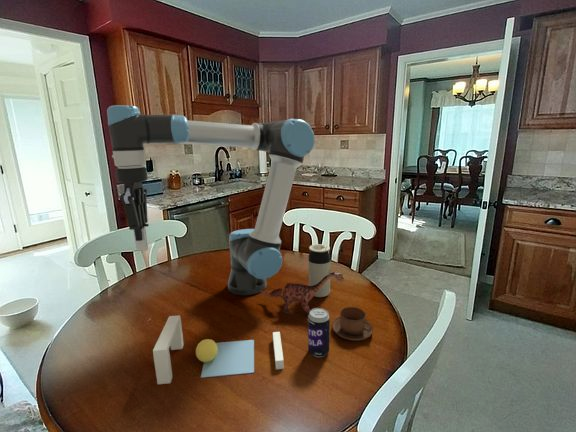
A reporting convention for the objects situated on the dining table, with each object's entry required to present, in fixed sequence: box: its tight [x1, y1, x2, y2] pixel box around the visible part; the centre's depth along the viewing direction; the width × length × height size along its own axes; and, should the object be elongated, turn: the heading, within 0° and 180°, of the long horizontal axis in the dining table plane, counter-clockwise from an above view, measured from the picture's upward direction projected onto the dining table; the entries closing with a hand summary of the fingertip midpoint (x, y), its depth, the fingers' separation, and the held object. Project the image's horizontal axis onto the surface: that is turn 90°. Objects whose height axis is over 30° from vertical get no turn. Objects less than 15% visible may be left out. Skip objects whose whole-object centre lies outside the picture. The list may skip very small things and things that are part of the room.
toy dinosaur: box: [260, 272, 345, 317], centre depth 104 cm, size 8×30×15 cm, turn 75°
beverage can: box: [307, 307, 331, 358], centre depth 83 cm, size 6×6×12 cm
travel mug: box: [308, 243, 331, 298], centre depth 115 cm, size 8×8×18 cm
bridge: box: [152, 315, 185, 385], centre depth 81 cm, size 3×15×9 cm, turn 6°
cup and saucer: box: [331, 306, 374, 341], centre depth 93 cm, size 12×12×6 cm
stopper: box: [272, 331, 285, 370], centre depth 84 cm, size 2×12×2 cm, turn 6°
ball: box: [195, 338, 218, 363], centre depth 82 cm, size 6×6×6 cm
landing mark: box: [200, 339, 255, 379], centre depth 83 cm, size 13×13×1 cm
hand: (142, 250), depth 89 cm, fingers closed
